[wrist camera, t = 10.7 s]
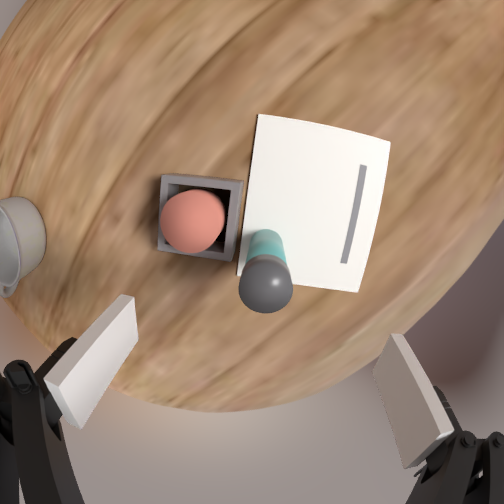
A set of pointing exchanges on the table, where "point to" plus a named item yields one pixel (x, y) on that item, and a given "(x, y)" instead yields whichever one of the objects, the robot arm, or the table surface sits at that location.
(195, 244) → the button
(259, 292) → the marker
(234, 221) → the button housing
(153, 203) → the table surface
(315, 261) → the paper
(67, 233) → the table surface
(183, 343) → the table surface
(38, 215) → the teacup
